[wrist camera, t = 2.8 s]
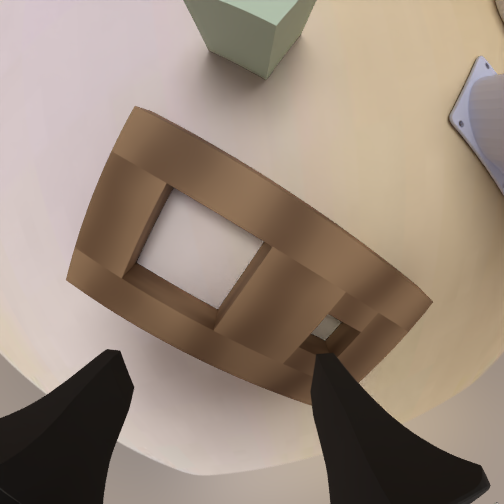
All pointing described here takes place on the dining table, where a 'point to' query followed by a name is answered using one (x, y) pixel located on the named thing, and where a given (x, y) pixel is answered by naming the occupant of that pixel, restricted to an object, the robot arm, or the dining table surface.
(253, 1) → the peg
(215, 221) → the dining table surface
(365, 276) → the socket board
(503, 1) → the ramekin
